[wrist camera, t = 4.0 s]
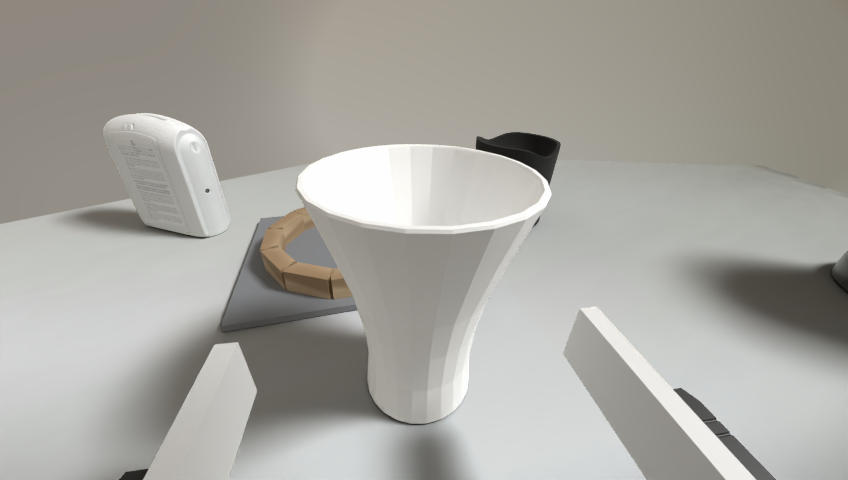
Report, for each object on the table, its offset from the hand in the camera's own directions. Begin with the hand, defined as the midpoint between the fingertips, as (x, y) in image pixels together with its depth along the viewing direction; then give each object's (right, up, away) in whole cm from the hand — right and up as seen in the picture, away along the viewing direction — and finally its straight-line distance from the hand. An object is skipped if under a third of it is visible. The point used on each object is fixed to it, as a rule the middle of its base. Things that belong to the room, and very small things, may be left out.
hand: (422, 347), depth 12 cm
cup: (0, -5, +8) cm, 9 cm away
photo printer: (-28, +6, +24) cm, 37 cm away
